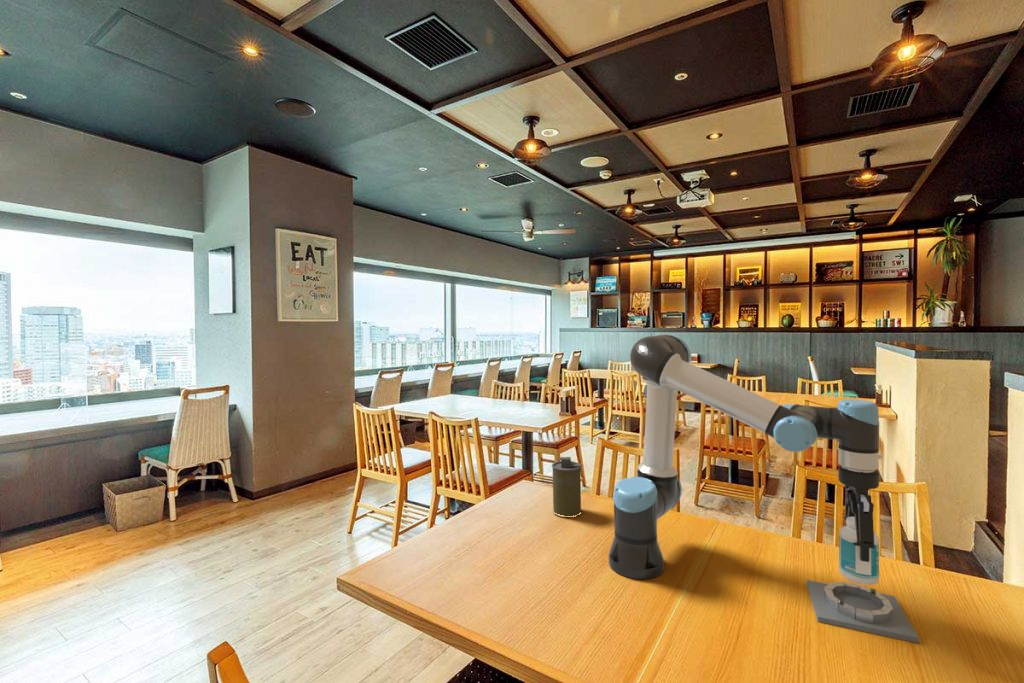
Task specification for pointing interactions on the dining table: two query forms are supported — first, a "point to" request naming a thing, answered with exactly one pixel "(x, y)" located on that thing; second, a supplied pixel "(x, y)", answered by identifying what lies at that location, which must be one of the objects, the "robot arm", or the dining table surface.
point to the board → (894, 628)
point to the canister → (566, 487)
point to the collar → (856, 613)
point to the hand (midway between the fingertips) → (858, 564)
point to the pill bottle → (849, 558)
